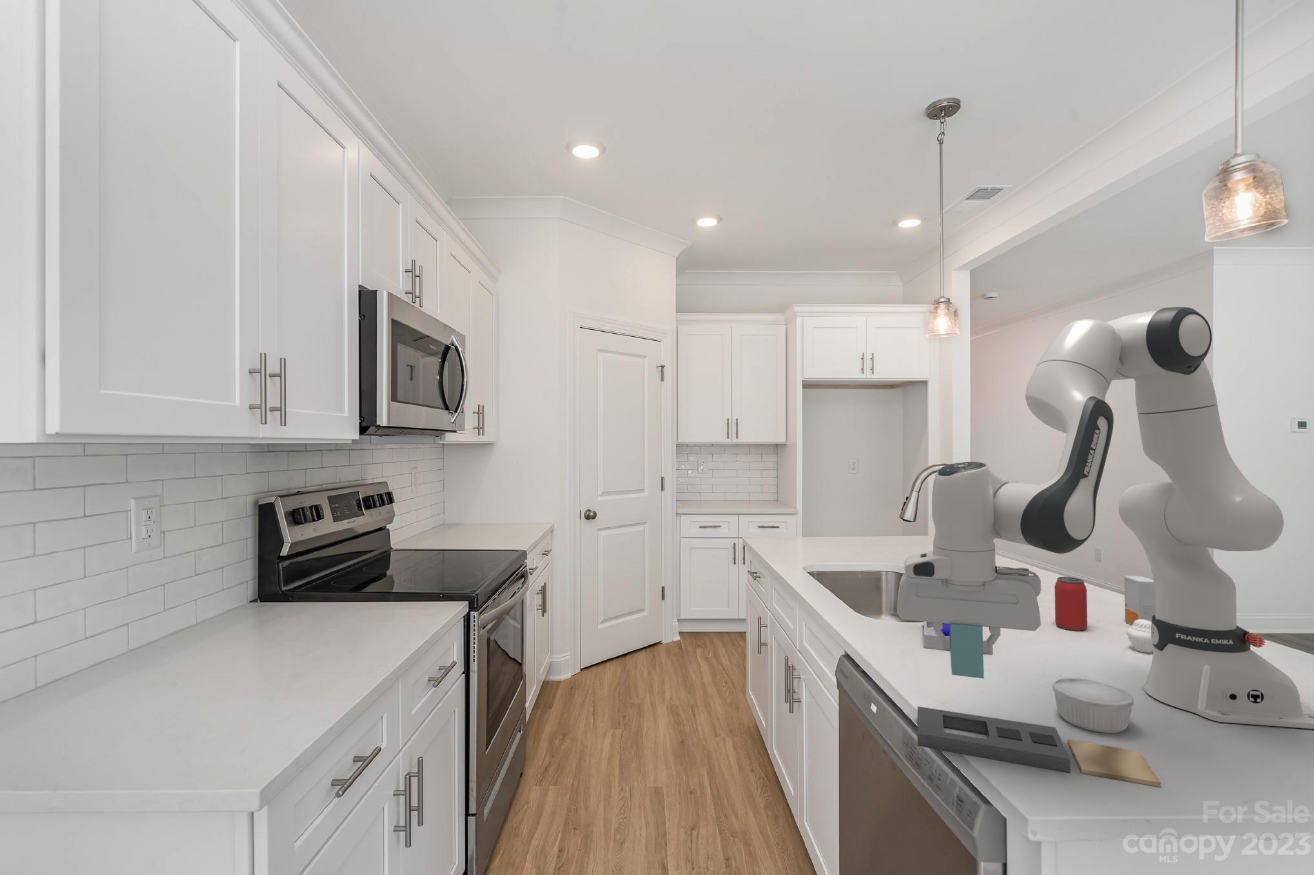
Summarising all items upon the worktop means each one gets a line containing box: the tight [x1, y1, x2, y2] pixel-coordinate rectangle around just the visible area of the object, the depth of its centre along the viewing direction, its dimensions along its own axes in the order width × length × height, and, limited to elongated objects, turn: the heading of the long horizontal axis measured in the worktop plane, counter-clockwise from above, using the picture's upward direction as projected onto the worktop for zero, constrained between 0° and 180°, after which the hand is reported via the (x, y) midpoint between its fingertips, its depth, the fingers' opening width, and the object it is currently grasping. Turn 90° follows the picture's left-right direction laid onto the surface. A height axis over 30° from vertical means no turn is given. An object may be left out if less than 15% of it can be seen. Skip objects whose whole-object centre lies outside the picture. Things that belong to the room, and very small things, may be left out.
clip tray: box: [923, 621, 949, 651], centre depth 143 cm, size 9×17×3 cm, turn 156°
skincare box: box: [1123, 575, 1155, 626], centre depth 150 cm, size 6×4×12 cm
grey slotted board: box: [917, 706, 1071, 774], centre depth 94 cm, size 20×10×2 cm, turn 67°
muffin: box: [1125, 619, 1154, 654], centre depth 133 cm, size 6×6×7 cm
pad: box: [1066, 739, 1162, 788], centre depth 88 cm, size 9×9×1 cm
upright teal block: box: [949, 623, 985, 680], centre depth 96 cm, size 4×4×8 cm
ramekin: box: [1051, 677, 1135, 734], centre depth 101 cm, size 11×11×5 cm
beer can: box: [1054, 576, 1088, 632], centre depth 150 cm, size 7×7×12 cm
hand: (966, 651), depth 96 cm, fingers closed on upright teal block, 4 cm apart
